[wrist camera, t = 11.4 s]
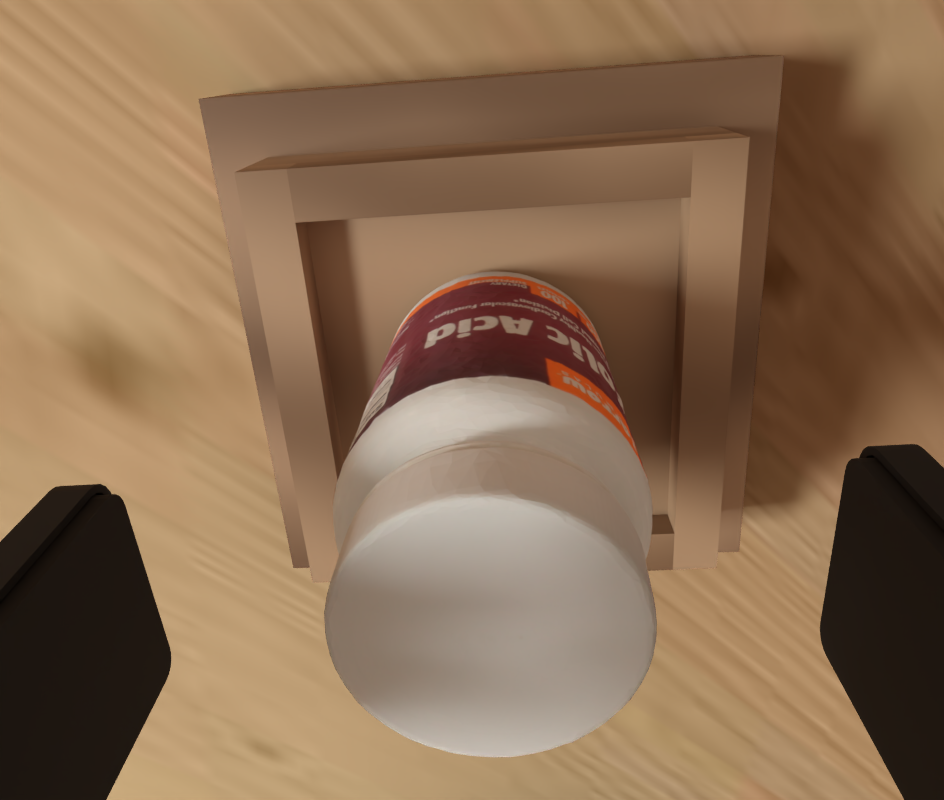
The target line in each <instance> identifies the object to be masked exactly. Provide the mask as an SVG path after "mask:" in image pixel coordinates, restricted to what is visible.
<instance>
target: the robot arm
mask: <svg viewBox="0 0 944 800" xmlns="http://www.w3.org/2000/svg"><path fill="white" fill-rule="evenodd" d="M820 635H821V641H822V645H823V649H824V651H825V654H826V656H827V658H828V660H829V661H830V663H831V665H832V667H833V669H834V671H835V673H836V674H837V676H838V678H839V680H840V682H841V684H842V685H843V687H844V689H845V691H846V693H847V695H848V697H849V698H850V700H851V702H852V704H853V706H854V708H855V709H856V711H857V713H858V715H859V717H860V719H861V721H862V722H863V724H864V726H865V728H866V730H867V732H868V733H869V735H870V737H871V739H872V741H873V743H874V745H875V746H876V748H877V750H878V752H879V754H880V756H881V757H882V759H883V761H884V763H885V765H886V767H887V769H888V770H889V772H890V774H891V776H892V778H893V780H894V781H895V783H896V785H897V787H898V789H899V791H900V793H901V794H902V796H903V798H904V800H944V468H943V467H942V466H941V465H940V464H939V463H938V462H937V461H936V460H935V459H934V458H933V457H932V456H931V455H929V454H928V453H927V452H926V451H925V450H924V449H923V448H922V447H920V446H919V445H915V444H907V445H887V446H868V447H866V448H865V449H864V450H863V451H862V453H861V455H860V457H859V458H855V459H851V460H850V461H849V462H848V464H847V466H846V470H845V475H844V481H843V487H842V493H841V500H840V506H839V512H838V518H837V524H836V530H835V537H834V543H833V549H832V555H831V561H830V567H829V573H828V580H827V586H826V592H825V598H824V604H823V610H822V616H821V623H820ZM170 667H171V651H170V647H169V644H168V640H167V637H166V634H165V631H164V628H163V624H162V621H161V618H160V615H159V612H158V609H157V605H156V602H155V599H154V596H153V593H152V589H151V586H150V583H149V580H148V577H147V574H146V570H145V567H144V564H143V561H142V558H141V554H140V551H139V548H138V545H137V542H136V539H135V535H134V532H133V529H132V526H131V523H130V519H129V516H128V513H127V510H126V507H125V504H124V502H123V500H122V499H121V497H120V496H118V495H116V494H112V495H111V492H110V491H109V490H108V489H107V487H106V486H103V485H101V484H94V485H74V486H59V487H55V488H53V489H52V490H50V491H49V492H48V493H47V494H46V495H45V496H44V497H43V498H42V499H41V500H40V501H39V502H38V504H37V505H36V506H35V507H34V508H33V509H32V510H31V511H30V512H29V513H28V514H27V515H26V516H25V517H24V518H23V519H22V520H21V521H20V522H19V523H18V524H17V525H16V526H15V527H14V528H13V529H12V530H11V531H10V532H9V533H8V534H7V535H6V537H5V538H4V539H3V540H2V541H1V542H0V800H106V799H107V797H108V795H109V793H110V791H111V789H112V787H113V785H114V783H115V781H116V779H117V777H118V775H119V773H120V771H121V769H122V767H123V765H124V763H125V761H126V759H127V757H128V755H129V753H130V751H131V749H132V747H133V745H134V743H135V741H136V739H137V737H138V736H139V734H140V732H141V730H142V728H143V726H144V724H145V722H146V720H147V718H148V716H149V714H150V712H151V710H152V708H153V706H154V704H155V702H156V700H157V698H158V696H159V694H160V692H161V690H162V688H163V686H164V684H165V682H166V680H167V677H168V675H169V671H170Z"/></svg>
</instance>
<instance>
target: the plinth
mask: <svg viewBox="0 0 944 800" xmlns="http://www.w3.org/2000/svg"><path fill="white" fill-rule="evenodd" d="M783 63H784V56H772V55H751V56H737V57H724V58H711V59H697V60H684V61H670V62H657V63H643V64H630V65H616V66H603V67H590V68H576V69H563V70H549V71H536V72H522V73H509V74H496V75H482V76H469V77H455V78H442V79H428V80H415V81H401V82H388V83H375V84H361V85H348V86H334V87H321V88H307V89H294V90H280V91H267V92H254V93H240V94H228V95H222V96H215V97H209V98H202V99H199V103H200V108H201V113H202V118H203V123H204V128H205V133H206V138H207V143H208V148H209V153H210V158H211V163H212V168H213V172H214V177H215V182H216V187H217V192H218V197H219V202H220V207H221V212H222V217H223V222H224V227H225V232H226V237H227V242H228V247H229V252H230V256H231V261H232V266H233V271H234V276H235V281H236V286H237V291H238V296H239V301H240V306H241V311H242V316H243V321H244V326H245V331H246V336H247V340H248V345H249V350H250V355H251V360H252V365H253V370H254V375H255V380H256V385H257V390H258V395H259V400H260V405H261V410H262V415H263V420H264V424H265V429H266V434H267V439H268V444H269V449H270V454H271V459H272V464H273V469H274V474H275V479H276V484H277V489H278V494H279V499H280V504H281V508H282V513H283V518H284V523H285V528H286V533H287V538H288V543H289V548H290V553H291V558H292V563H293V568H308V567H310V571H311V576H312V582H313V583H315V582H331V578H332V575H333V572H334V569H335V566H336V563H337V560H338V557H339V554H338V550H337V545H336V540H335V534H334V523H333V502H334V495H335V488H336V484H337V480H338V475H339V473H340V471H341V468H342V466H343V463H344V461H345V459H346V456H347V454H348V452H349V449H350V447H351V444H352V442H353V440H354V437H355V435H356V433H357V430H358V428H359V425H360V422H361V419H362V416H363V414H364V411H365V409H366V406H367V403H368V400H369V399H370V396H371V394H372V391H373V389H374V386H375V383H376V381H377V379H378V376H379V374H380V371H381V369H382V366H383V364H384V362H385V359H386V356H387V354H388V351H389V349H390V347H391V344H392V342H393V339H394V337H395V335H396V333H397V331H398V328H399V327H400V325H401V323H402V322H403V320H404V319H405V317H406V316H407V315H408V313H409V312H410V311H411V310H412V309H413V308H414V306H415V305H416V304H417V303H418V302H419V301H420V300H421V299H423V298H424V297H425V296H426V295H428V294H429V293H430V292H432V291H433V290H435V289H436V288H438V287H440V286H442V285H444V284H445V283H447V282H450V281H452V280H454V279H457V278H459V277H462V276H465V275H469V274H475V273H480V272H494V271H499V272H512V273H519V274H523V275H527V276H530V277H533V278H536V279H539V280H541V281H544V282H546V283H548V284H550V285H552V286H554V287H555V288H557V289H559V290H560V291H562V292H563V293H565V294H566V295H568V296H569V297H570V298H571V299H572V300H573V301H574V302H575V303H576V304H577V305H578V306H579V307H580V308H581V309H582V310H583V311H584V312H585V314H586V315H587V316H588V318H589V319H590V321H591V322H592V324H593V326H594V328H595V330H596V332H597V334H598V336H599V339H600V341H601V344H602V347H603V350H604V353H605V356H606V359H607V361H608V364H609V367H610V371H611V374H612V377H613V380H614V383H615V385H616V388H617V391H618V394H619V396H620V398H621V401H622V404H623V406H624V412H625V416H626V419H627V422H628V425H629V427H630V430H631V433H632V436H633V439H634V441H635V446H636V449H637V452H638V454H639V456H640V459H641V461H642V464H643V469H644V472H645V474H646V476H647V479H648V484H649V488H650V493H651V498H652V508H653V512H652V533H651V542H650V547H649V551H648V554H647V557H646V566H647V571H650V570H678V569H706V568H717V556H718V552H739V547H740V536H741V525H742V514H743V503H744V492H745V481H746V470H747V459H748V448H749V437H750V426H751V415H752V404H753V393H754V382H755V371H756V360H757V349H758V338H759V327H760V316H761V305H762V294H763V283H764V272H765V261H766V250H767V239H768V228H769V217H770V206H771V195H772V184H773V173H774V162H775V151H776V140H777V129H778V118H779V107H780V96H781V85H782V74H783Z"/></svg>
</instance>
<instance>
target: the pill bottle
mask: <svg viewBox="0 0 944 800" xmlns="http://www.w3.org/2000/svg"><path fill="white" fill-rule="evenodd" d="M652 512H653V508H652V498H651V493H650V488H649V484H648V479H647V476H646V474H645V472H644V469H643V464H642V461H641V459H640V456H639V454H638V452H637V449H636V446H635V441H634V439H633V436H632V433H631V430H630V427H629V425H628V422H627V419H626V416H625V412H624V406H623V404H622V401H621V398H620V396H619V394H618V391H617V388H616V385H615V383H614V380H613V377H612V374H611V371H610V367H609V364H608V361H607V359H606V356H605V353H604V350H603V347H602V344H601V341H600V339H599V336H598V334H597V332H596V330H595V328H594V326H593V324H592V322H591V321H590V319H589V318H588V316H587V315H586V314H585V312H584V311H583V310H582V309H581V308H580V307H579V306H578V305H577V304H576V303H575V302H574V301H573V300H572V299H571V298H570V297H569V296H568V295H566V294H565V293H563V292H562V291H560V290H559V289H557V288H555V287H554V286H552V285H550V284H548V283H546V282H544V281H541V280H539V279H536V278H533V277H530V276H527V275H523V274H519V273H512V272H499V271H494V272H480V273H475V274H469V275H465V276H462V277H459V278H457V279H454V280H452V281H450V282H447V283H445V284H444V285H442V286H440V287H438V288H436V289H435V290H433V291H432V292H430V293H429V294H428V295H426V296H425V297H424V298H423V299H421V300H420V301H419V302H418V303H417V304H416V305H415V306H414V308H413V309H412V310H411V311H410V312H409V313H408V315H407V316H406V317H405V319H404V320H403V322H402V323H401V325H400V327H399V328H398V331H397V333H396V335H395V337H394V339H393V342H392V344H391V347H390V349H389V351H388V354H387V356H386V359H385V362H384V364H383V366H382V369H381V371H380V374H379V376H378V379H377V381H376V383H375V386H374V389H373V391H372V394H371V396H370V399H369V400H368V403H367V406H366V409H365V411H364V414H363V416H362V419H361V422H360V425H359V428H358V430H357V433H356V435H355V437H354V440H353V442H352V444H351V447H350V449H349V452H348V454H347V456H346V459H345V461H344V463H343V466H342V468H341V471H340V473H339V475H338V480H337V484H336V488H335V495H334V502H333V523H334V534H335V540H336V545H337V550H338V554H339V557H338V560H337V563H336V566H335V569H334V572H333V575H332V578H331V582H330V586H329V590H328V593H327V598H326V605H325V611H324V616H325V633H326V639H327V644H328V648H329V652H330V656H331V658H332V661H333V664H334V667H335V669H336V671H337V672H338V674H339V676H340V678H341V680H342V681H343V683H344V685H345V686H346V688H347V689H348V690H349V691H350V693H351V694H352V695H353V697H354V698H355V699H356V701H357V702H358V703H359V704H360V705H361V706H362V707H364V709H365V710H366V711H368V712H369V713H370V714H371V715H373V716H374V717H375V718H376V719H378V720H379V721H381V722H382V723H383V724H385V725H386V726H387V727H389V728H391V729H392V730H394V731H396V732H398V733H399V734H401V735H403V736H405V737H407V738H409V739H411V740H413V741H416V742H418V743H421V744H423V745H426V746H429V747H433V748H437V749H441V750H444V751H447V752H451V753H456V754H462V755H469V756H483V757H514V756H521V755H528V754H533V753H538V752H542V751H546V750H550V749H553V748H556V747H559V746H561V745H564V744H567V743H571V742H574V741H575V740H577V739H579V738H581V737H584V736H585V735H587V734H588V733H590V732H592V731H593V730H595V729H597V728H598V727H600V726H601V725H603V724H604V723H605V722H607V721H608V720H609V719H611V718H612V717H613V716H614V715H615V714H616V713H617V712H618V711H619V710H621V709H622V708H623V707H624V706H625V705H626V703H627V702H628V701H629V700H630V699H631V698H632V696H633V695H634V693H635V692H636V691H637V689H638V688H639V686H640V685H641V683H642V681H643V679H644V677H645V675H646V673H647V671H648V669H649V667H650V664H651V660H652V657H653V653H654V648H655V642H656V624H657V621H656V609H655V603H654V598H653V593H652V588H651V584H650V579H649V575H648V571H647V566H646V557H647V554H648V551H649V547H650V542H651V533H652Z"/></svg>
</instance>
